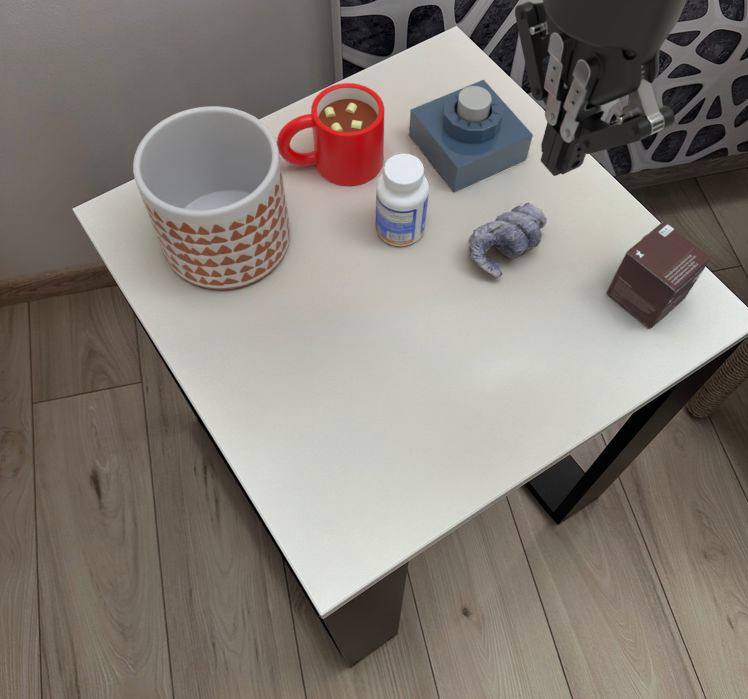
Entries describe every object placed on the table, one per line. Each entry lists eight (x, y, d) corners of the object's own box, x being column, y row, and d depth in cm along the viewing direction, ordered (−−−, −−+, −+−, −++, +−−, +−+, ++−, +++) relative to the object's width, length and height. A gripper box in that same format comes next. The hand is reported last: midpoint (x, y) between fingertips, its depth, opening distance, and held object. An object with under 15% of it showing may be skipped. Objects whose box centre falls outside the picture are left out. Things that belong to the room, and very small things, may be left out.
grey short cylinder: (477, 95, 86) (479, 81, 85) (495, 116, 85) (498, 101, 83) (450, 106, 86) (452, 92, 84) (468, 127, 84) (470, 113, 82)
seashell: (477, 285, 82) (534, 232, 86) (508, 280, 78) (567, 225, 81) (451, 243, 81) (510, 192, 85) (481, 236, 76) (542, 182, 80)
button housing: (479, 105, 93) (486, 65, 88) (526, 159, 89) (536, 121, 84) (408, 134, 91) (411, 95, 86) (453, 192, 87) (459, 155, 82)
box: (649, 331, 78) (674, 291, 72) (603, 293, 80) (624, 252, 74) (686, 298, 80) (714, 256, 74) (641, 262, 82) (664, 219, 76)
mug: (273, 149, 90) (266, 97, 83) (372, 128, 91) (373, 76, 84) (288, 200, 86) (282, 150, 79) (391, 177, 88) (393, 127, 81)
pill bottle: (399, 200, 86) (403, 138, 78) (435, 228, 84) (442, 167, 76) (365, 227, 84) (364, 166, 76) (400, 256, 82) (404, 197, 74)
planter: (295, 191, 87) (284, 106, 75) (284, 294, 80) (271, 217, 69) (174, 188, 87) (145, 102, 76) (154, 290, 80) (119, 212, 69)
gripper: (497, -122, 40) (461, 123, 55) (661, 28, 35) (571, 254, 50) (611, -161, 42) (546, 87, 57) (785, -24, 36) (662, 210, 52)
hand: (558, 165), depth 53 cm, fingers closed
